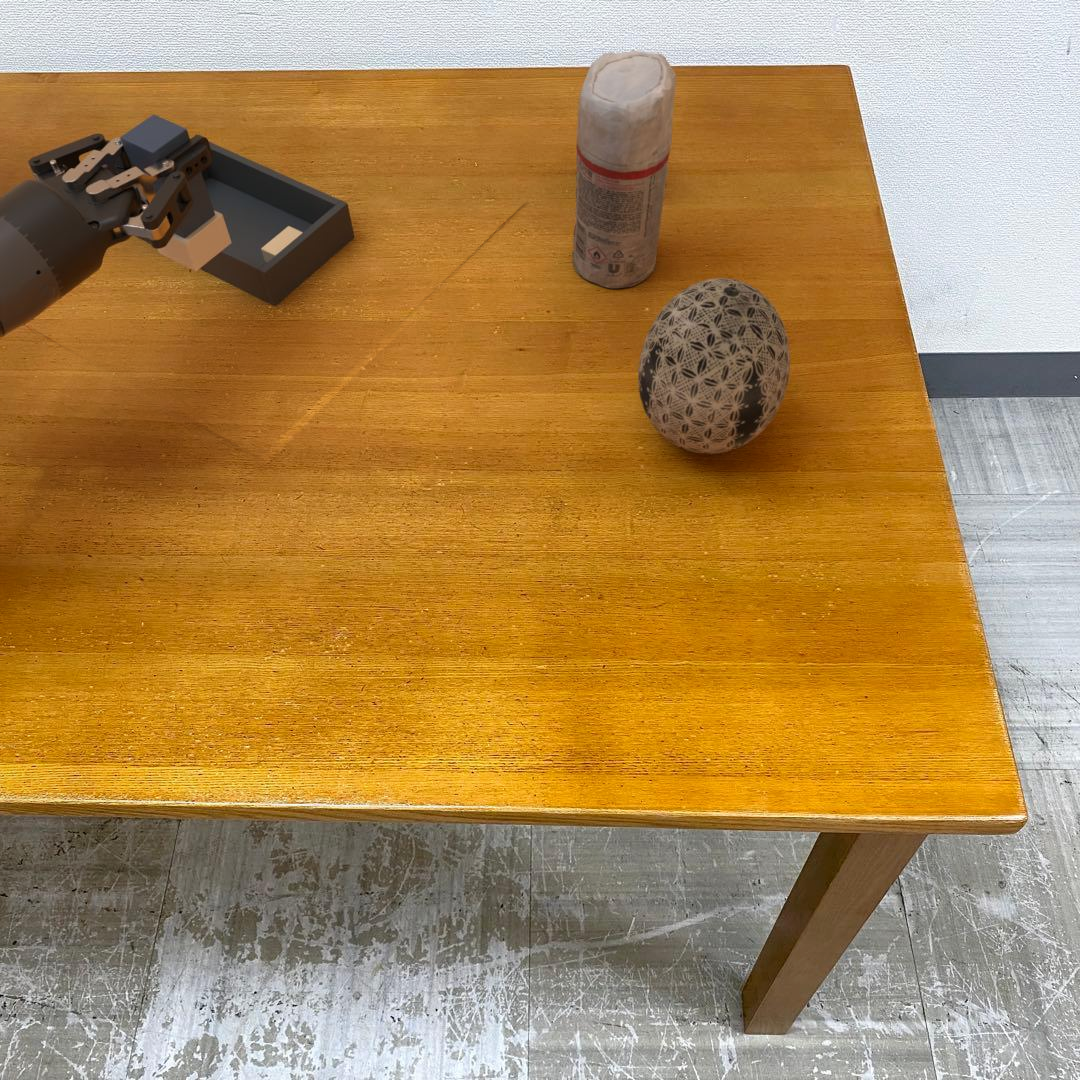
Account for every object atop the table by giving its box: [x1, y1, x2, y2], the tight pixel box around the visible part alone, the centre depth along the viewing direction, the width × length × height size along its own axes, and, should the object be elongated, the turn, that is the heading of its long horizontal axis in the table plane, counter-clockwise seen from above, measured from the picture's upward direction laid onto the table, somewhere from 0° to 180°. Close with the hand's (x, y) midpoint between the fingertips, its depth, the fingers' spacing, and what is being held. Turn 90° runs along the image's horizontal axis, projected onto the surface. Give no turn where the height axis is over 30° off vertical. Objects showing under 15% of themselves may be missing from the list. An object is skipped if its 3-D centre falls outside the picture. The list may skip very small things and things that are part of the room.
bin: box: [133, 140, 355, 307], centre depth 99 cm, size 20×12×5 cm, turn 56°
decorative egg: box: [637, 277, 791, 455], centre depth 80 cm, size 12×12×15 cm
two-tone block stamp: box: [119, 114, 231, 272], centre depth 82 cm, size 4×4×11 cm
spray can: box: [571, 49, 677, 289], centre depth 89 cm, size 8×8×20 cm
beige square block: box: [261, 226, 303, 262], centre depth 97 cm, size 4×4×2 cm
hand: (186, 137), depth 80 cm, fingers closed on two-tone block stamp, 3 cm apart
